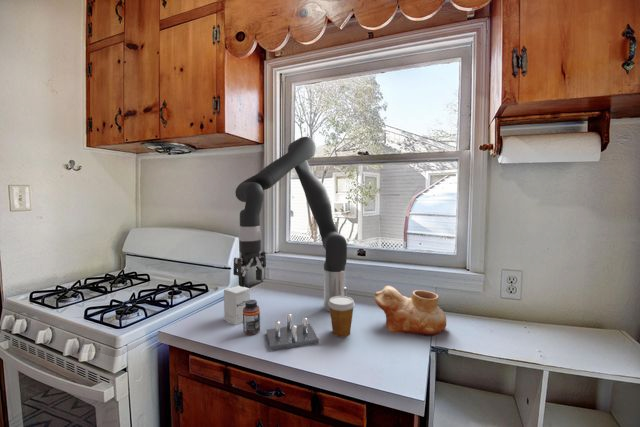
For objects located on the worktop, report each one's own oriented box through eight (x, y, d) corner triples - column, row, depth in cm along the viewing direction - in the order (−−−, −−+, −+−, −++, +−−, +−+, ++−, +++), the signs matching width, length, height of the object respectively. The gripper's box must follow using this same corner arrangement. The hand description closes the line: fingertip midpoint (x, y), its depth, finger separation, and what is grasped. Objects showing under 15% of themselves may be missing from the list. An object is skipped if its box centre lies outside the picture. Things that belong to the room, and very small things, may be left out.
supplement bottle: (247, 327, 108) (246, 297, 107) (262, 328, 107) (262, 298, 106) (240, 335, 102) (239, 303, 101) (256, 336, 101) (255, 304, 100)
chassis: (309, 327, 107) (309, 310, 107) (318, 343, 96) (318, 324, 95) (266, 333, 103) (266, 315, 102) (270, 350, 91) (270, 331, 91)
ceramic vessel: (373, 316, 117) (373, 280, 116) (441, 321, 112) (442, 284, 111) (373, 332, 103) (373, 292, 102) (451, 339, 98) (452, 296, 97)
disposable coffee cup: (340, 324, 110) (340, 293, 109) (360, 332, 103) (360, 300, 102) (322, 332, 103) (322, 300, 103) (342, 342, 96) (342, 307, 96)
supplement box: (235, 325, 109) (234, 293, 108) (223, 320, 114) (223, 289, 113) (250, 318, 115) (250, 288, 114) (239, 314, 119) (238, 284, 119)
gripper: (255, 235, 110) (256, 276, 111) (227, 240, 98) (228, 287, 99) (271, 236, 107) (271, 279, 108) (243, 242, 94) (244, 290, 95)
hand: (250, 283), depth 103 cm, fingers open, 8 cm apart
